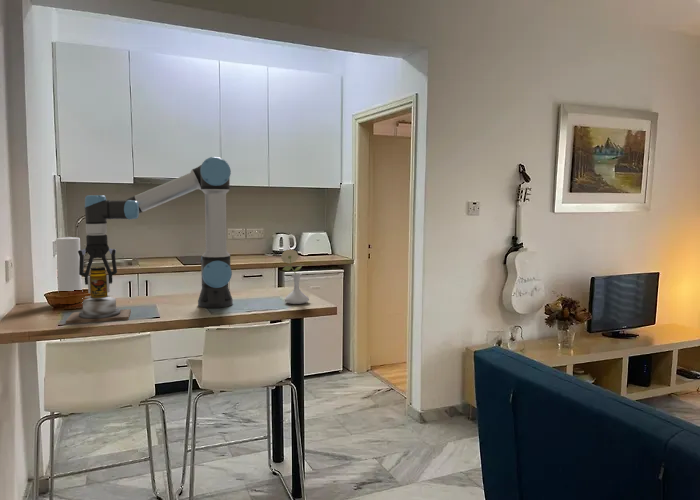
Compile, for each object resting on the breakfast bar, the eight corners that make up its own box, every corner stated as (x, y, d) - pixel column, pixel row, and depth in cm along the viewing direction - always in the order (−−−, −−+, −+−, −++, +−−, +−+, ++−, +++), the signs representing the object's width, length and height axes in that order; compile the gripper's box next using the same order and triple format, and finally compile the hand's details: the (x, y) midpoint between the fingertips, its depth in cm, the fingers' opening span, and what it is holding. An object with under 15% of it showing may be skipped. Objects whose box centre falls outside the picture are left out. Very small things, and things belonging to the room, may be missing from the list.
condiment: (96, 299, 205) (95, 269, 204) (83, 297, 209) (81, 267, 208) (113, 296, 212) (112, 266, 210) (99, 294, 216) (98, 265, 214)
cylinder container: (72, 305, 234) (69, 238, 231) (54, 304, 236) (51, 237, 233) (87, 301, 244) (84, 236, 241) (69, 300, 246) (66, 236, 243)
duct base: (131, 311, 222) (130, 295, 221) (128, 319, 208) (127, 301, 207) (72, 315, 215) (71, 297, 214) (66, 323, 201) (65, 305, 200)
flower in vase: (311, 301, 247) (311, 248, 245) (306, 306, 236) (306, 250, 234) (283, 300, 249) (283, 247, 246) (278, 305, 237) (277, 250, 235)
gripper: (123, 233, 215) (125, 289, 217) (71, 234, 208) (74, 291, 211) (122, 234, 208) (124, 292, 210) (68, 235, 201) (71, 295, 204)
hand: (99, 292), depth 210 cm, fingers closed on condiment, 6 cm apart
